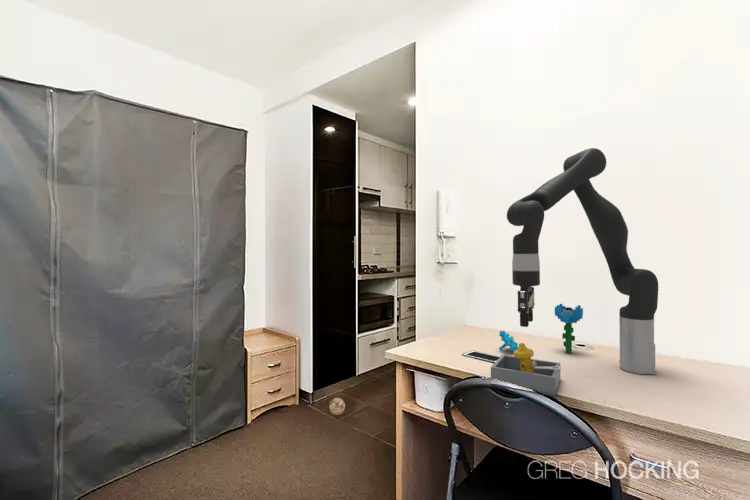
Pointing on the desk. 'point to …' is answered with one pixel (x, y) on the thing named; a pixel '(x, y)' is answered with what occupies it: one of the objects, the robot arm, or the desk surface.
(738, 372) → the desk surface
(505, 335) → the blue blocky piece
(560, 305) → the toy flower
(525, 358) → the pressure relief valve
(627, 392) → the desk surface
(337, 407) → the trinket box
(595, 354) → the desk surface
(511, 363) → the bin
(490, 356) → the cell phone
